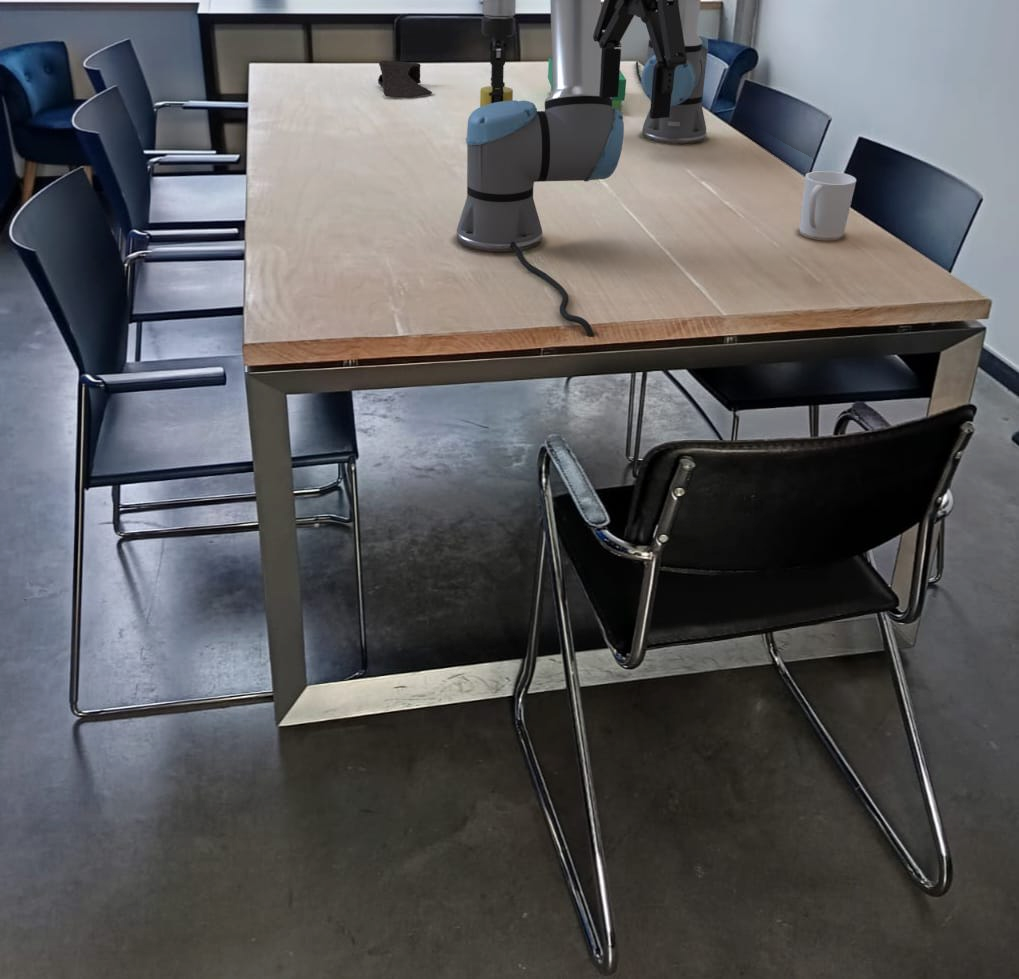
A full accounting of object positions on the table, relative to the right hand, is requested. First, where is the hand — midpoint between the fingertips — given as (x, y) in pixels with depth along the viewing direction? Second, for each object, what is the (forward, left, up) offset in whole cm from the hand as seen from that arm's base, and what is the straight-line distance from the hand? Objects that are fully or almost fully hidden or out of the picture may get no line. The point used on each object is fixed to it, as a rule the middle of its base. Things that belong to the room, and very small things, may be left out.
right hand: (496, 119), depth 260 cm
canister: (0, 0, -1) cm, 1 cm away
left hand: (+106, +27, +27) cm, 113 cm away
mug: (+67, +65, -3) cm, 93 cm away
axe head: (-44, -29, -3) cm, 53 cm away
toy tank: (-42, +20, -3) cm, 47 cm away
